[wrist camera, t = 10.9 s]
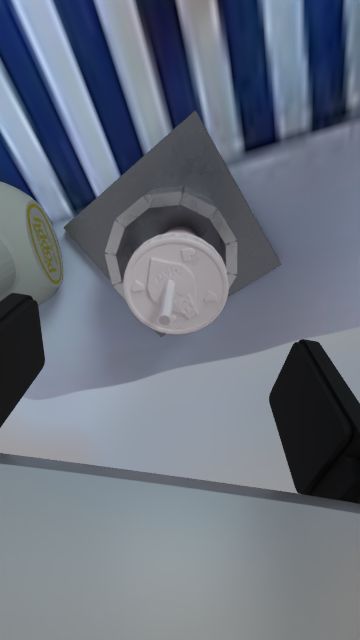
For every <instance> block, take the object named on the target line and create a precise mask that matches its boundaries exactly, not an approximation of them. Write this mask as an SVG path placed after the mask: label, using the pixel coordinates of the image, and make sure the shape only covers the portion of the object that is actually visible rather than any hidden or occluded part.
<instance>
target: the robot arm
mask: <svg viewBox="0 0 360 640" xmlns="http://www.w3.org/2000/svg"><path fill="white" fill-rule="evenodd" d="M44 363H45V356H44V349H43V341H42V333H41V325H40V317H39V309H38V303H37V301H36V300H33V298H32V296H30V295H25V294H19V293H11V294H9V295H8V296H7V297H5V298H4V299H3V300H1V301H0V427H1V426H2V425H3V423H4V422H5V420H6V419H7V417H8V416H9V415H10V413H11V412H12V411H13V409H14V408H15V406H16V405H17V403H18V402H19V401H20V399H21V398H22V396H23V395H24V394H25V392H26V391H27V389H28V388H29V387H30V385H31V384H32V382H33V381H34V380H35V378H36V377H37V375H38V374H39V373H40V371H41V370H42V368H43V366H44ZM269 402H270V406H271V409H272V412H273V415H274V418H275V422H276V425H277V429H278V432H279V436H280V439H281V442H282V445H283V449H284V452H285V455H286V459H287V462H288V465H289V469H290V472H291V475H292V478H293V482H294V485H295V488H296V490H297V492H298V493H299V494H296V493H290V492H282V491H276V490H269V489H262V488H254V487H248V486H240V485H233V484H226V483H219V482H212V481H205V480H197V479H190V478H183V477H175V476H169V475H161V474H153V473H147V472H139V471H132V470H124V469H117V468H110V467H102V466H95V465H88V464H80V463H72V462H64V461H57V460H49V459H42V458H34V457H26V456H18V455H10V454H3V453H0V640H360V403H359V402H358V401H357V399H356V397H355V396H354V394H353V393H352V391H351V390H350V388H349V387H348V386H347V384H346V382H345V381H344V380H343V378H342V377H341V375H340V373H339V372H338V370H337V369H336V367H335V366H334V364H333V363H332V361H331V360H330V358H329V357H328V355H327V354H326V352H325V351H324V349H323V348H322V346H321V345H320V343H318V342H316V341H310V340H304V339H302V340H300V341H299V342H295V343H294V344H293V346H292V348H291V350H290V352H289V354H288V356H287V359H286V361H285V363H284V365H283V367H282V369H281V372H280V373H279V376H278V378H277V380H276V382H275V384H274V386H273V388H272V391H271V393H270V396H269Z"/></svg>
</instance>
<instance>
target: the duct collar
mask: <svg viewBox="0 0 360 640" xmlns="http://www.w3.org/2000/svg"><path fill="white" fill-rule="evenodd" d="M177 226H183V227H187V228H189V229H191V230H193V231H194V232H195V233H196V234H197V236H198V237H199V238H201V239H203V240H204V241H206V242H207V243H209V244H210V245H211V246H213V247H214V249H215V250H216V251H217V252H218V254H219V255H220V256H221V257H222V260H223V262H224V264H225V266H226V269H227V275H228V282H229V291H228V296H230V295H231V294H233V293H235V292H236V291H238V290H240V289H241V288H243V287H245V286H246V285H248V284H249V283H251V282H253V281H254V280H256V279H258V278H259V277H261V276H263V275H264V274H266V273H268V272H269V271H271V270H273V269H274V268H276V267H278V266H279V265H281V263H280V261H279V260H278V258H277V256H276V254H275V252H274V251H273V249H272V247H271V245H270V243H269V242H268V240H267V238H266V236H265V234H264V233H263V231H262V229H261V227H260V225H259V224H258V222H257V220H256V218H255V216H254V215H253V213H252V211H251V209H250V207H249V206H248V204H247V202H246V200H245V198H244V197H243V195H242V193H241V191H240V189H239V188H238V186H237V184H236V182H235V180H234V179H233V177H232V175H231V173H230V172H229V170H228V168H227V166H226V164H225V163H224V161H223V159H222V157H221V155H220V154H219V152H218V150H217V148H216V146H215V145H214V143H213V141H212V139H211V137H210V136H209V134H208V132H207V130H206V128H205V127H204V125H203V123H202V121H201V119H200V118H199V116H198V114H197V112H196V110H195V111H194V112H193V113H192V114H191V115H190V116H188V117H187V118H186V119H185V120H184V121H183V122H182V123H181V124H179V125H178V126H177V127H176V128H175V129H174V130H173V131H172V132H170V133H169V134H168V135H167V136H166V137H165V138H164V139H163V140H161V141H160V142H159V143H158V144H157V145H156V146H155V147H154V148H152V149H151V150H150V151H149V152H148V153H147V154H146V155H145V156H143V157H142V158H141V159H140V160H139V161H138V162H137V163H136V164H134V165H133V166H132V167H131V168H130V169H129V170H128V171H127V172H125V173H124V174H123V175H122V176H121V177H120V178H119V179H118V180H116V181H115V182H114V183H113V184H112V185H111V186H110V187H109V188H107V189H106V190H105V191H104V192H103V193H102V194H101V195H100V196H98V197H97V198H96V199H95V200H94V201H93V202H92V203H90V204H89V205H88V206H87V207H86V208H85V209H84V210H83V211H81V212H80V213H79V214H78V215H77V216H76V217H75V218H74V219H72V220H71V221H70V222H69V223H68V224H67V225H66V226H65V227H64V229H65V230H66V231H67V232H68V233H69V234H70V235H71V236H72V238H73V239H74V240H75V241H76V242H77V243H78V244H79V245H80V247H81V248H82V249H83V250H84V251H85V252H86V253H87V254H88V256H89V257H90V258H91V259H92V260H93V261H94V262H95V263H96V264H97V266H98V267H99V268H100V269H101V270H102V271H103V272H104V273H105V275H106V276H107V277H108V278H109V279H110V280H111V282H112V285H114V286H113V287H114V288H115V289H116V290H117V291H118V293H119V294H120V295H121V296H122V297H123V298H124V299H125V295H124V290H123V279H124V274H125V270H126V268H127V265H128V262H129V260H130V259H131V257H132V255H133V254H134V252H135V251H136V250H137V249H138V248H139V247H140V246H141V245H142V244H143V243H144V242H145V241H147V240H149V239H151V238H153V237H155V236H157V235H161V234H164V233H165V232H166V231H168V230H169V229H171V228H173V227H177ZM125 300H126V299H125ZM155 331H156V330H155ZM156 332H157V333H158V334H159V335H160V336H161V337H162V336H163V335H165V334H166V333H162V332H159V331H156Z"/></svg>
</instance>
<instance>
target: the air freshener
mask: <svg viewBox="0 0 360 640" xmlns="http://www.w3.org/2000/svg"><path fill="white" fill-rule="evenodd" d="M62 280H63V263H62V257H61V252H60V247H59V244H58V240H57V237H56V234H55V232H54V229H53V227H52V224H51V222H50V220H49V218H48V216H47V214H46V213H45V211H44V210H43V208H42V207H41V206H40V205H39V204H38V203H37V202H36V201H35V200H34V199H32V198H31V197H30V196H29V195H27V194H25V193H24V192H22V191H20V190H19V189H17V188H15V187H13V186H11V185H8V184H6V183H3V182H0V301H1V300H3V299H4V298H5V297H7V296H8V295H9V294H11V293H19V294H25V295H30V296H32V298H33V300H36V301H37V303H38V305H39V304H42V303H43V302H45V301H46V300H48V299H49V298H51V297H52V295H53V294H54V293H55V292H56V291H57V290H58V288H59V287H60V285H61V283H62Z"/></svg>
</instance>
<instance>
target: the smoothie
mask: <svg viewBox="0 0 360 640" xmlns="http://www.w3.org/2000/svg"><path fill="white" fill-rule="evenodd" d="M123 290H124V295H125V299H126V302H127V304H128V306H129V308H130V310H131V311H132V313H133V314H134V315H135V316H136V317H137V318H138V319H139V320H140V321H141V322H142V323H143V324H145V325H146V326H148V327H150V328H152V329H154V330H156V331H159V332H162V333H166V334H175V335H179V334H188V333H192V332H195V331H198V330H200V329H202V328H204V327H206V326H207V325H209V324H210V323H211V322H213V321H214V320H215V319H216V318H217V317H218V315H219V314H220V313H221V311H222V310H223V308H224V306H225V303H226V301H227V297H228V291H229V282H228V275H227V269H226V266H225V264H224V262H223V260H222V257H221V256H220V255H219V254H218V252H217V251H216V250H215V249H214V247H213V246H211V245H210V244H209V243H207V242H206V241H204V240H203V239H201V238H199V237H198V236H197V234H196V233H195V232H194V231H193V230H191V229H189V228H187V227H183V226H177V227H173V228H171V229H169V230H168V231H166V232H165V233H164V234H161V235H157V236H155V237H153V238H151V239H149V240H147V241H145V242H144V243H143V244H142V245H141V246H140V247H139V248H138V249H137V250H136V251H135V252H134V254H133V255H132V257H131V259H130V260H129V262H128V265H127V268H126V270H125V274H124V279H123Z"/></svg>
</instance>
